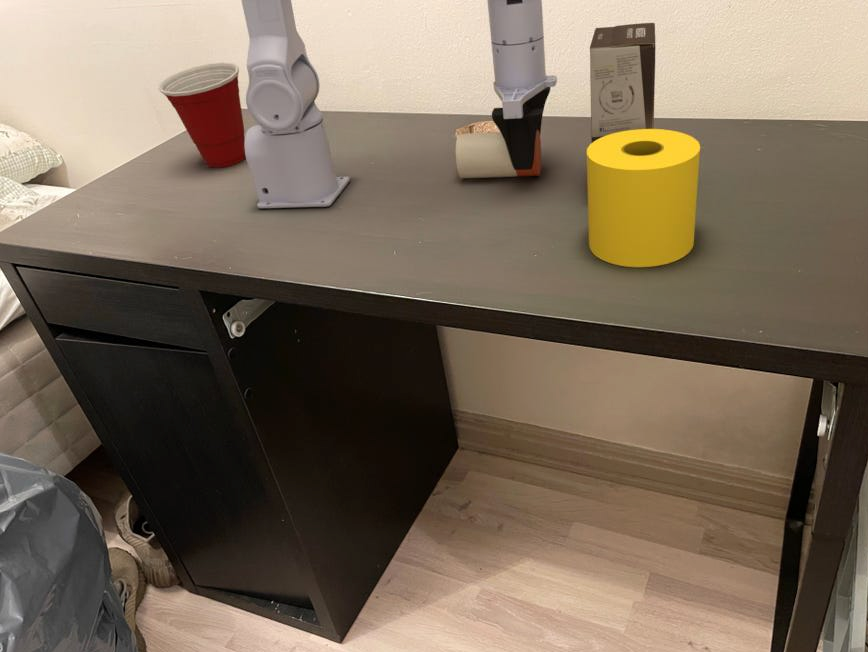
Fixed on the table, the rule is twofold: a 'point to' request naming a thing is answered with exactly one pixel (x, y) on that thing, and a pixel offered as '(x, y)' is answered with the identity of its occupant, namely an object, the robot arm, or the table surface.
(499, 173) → the container
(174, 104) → the plastic cup
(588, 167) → the yellow paper roll
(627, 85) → the coffee box
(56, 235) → the table surface
